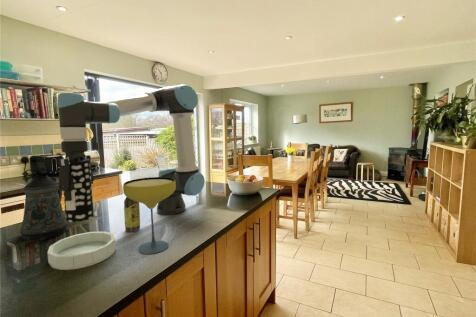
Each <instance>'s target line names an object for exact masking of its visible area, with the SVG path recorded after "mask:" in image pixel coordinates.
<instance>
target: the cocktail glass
mask: <svg viewBox="0 0 476 317" xmlns="http://www.w3.org/2000/svg"><path fill="white" fill-rule="evenodd" d="M175 189H176V182H175V180H174V179H173V178H167V177H159V176H155V177H154V176H152V177H141V178H137V179H132V180H128V181H125V182H124V183H123V185H122V190H123V194H124V196H125V197H128V198H129V199H131V200H134V201H137V202H139V204H143V205H145V206H146V208H148V210H150V217H151V218H150V219H151V220H150V221H151V241H148V242H144V243H142V244H141V245H140V246H139V247H138V248H137V250H138V252H139V253H140V254H142V255H155V254H159V253H162V252H164V251H166V250H168V248H169V246H170V245H169V243H168V242H167V241H166V240H165V241H164V240H156V238H155V229H154V228H155V227H154V212H153V209H155V208H156V207H157V205H158V203H159V202H160V201H162V200H163V199H165V198H167V197H169V196H170V195H171V194H172V193H173V192H174V191H175Z"/></svg>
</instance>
